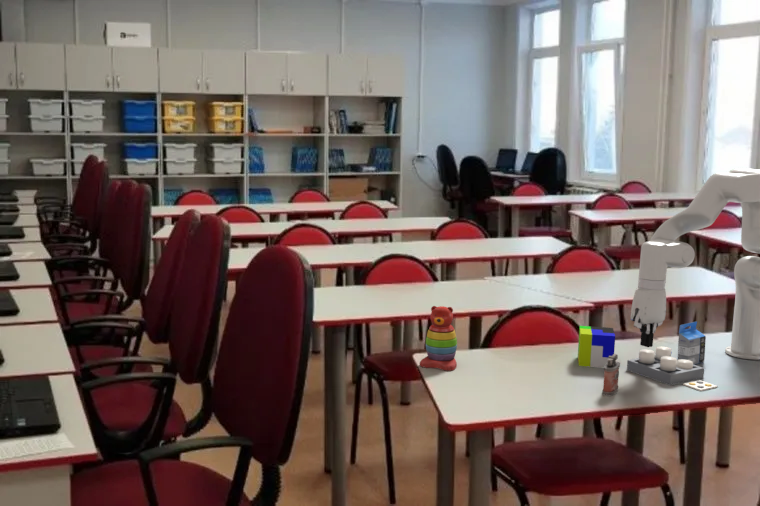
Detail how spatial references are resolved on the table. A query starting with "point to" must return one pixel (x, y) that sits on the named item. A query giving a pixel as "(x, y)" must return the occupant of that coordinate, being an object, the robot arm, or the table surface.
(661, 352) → the button
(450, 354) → the stacking bear
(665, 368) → the button
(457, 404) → the table surface
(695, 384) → the pattern card
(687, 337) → the label tape box
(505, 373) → the table surface
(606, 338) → the puzzle toy
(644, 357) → the button
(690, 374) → the button board
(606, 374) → the lighter
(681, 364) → the button
